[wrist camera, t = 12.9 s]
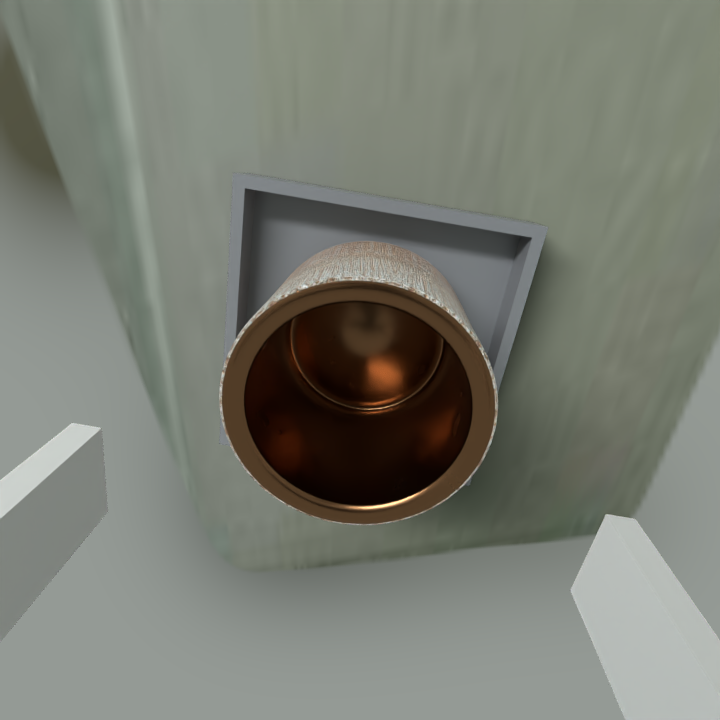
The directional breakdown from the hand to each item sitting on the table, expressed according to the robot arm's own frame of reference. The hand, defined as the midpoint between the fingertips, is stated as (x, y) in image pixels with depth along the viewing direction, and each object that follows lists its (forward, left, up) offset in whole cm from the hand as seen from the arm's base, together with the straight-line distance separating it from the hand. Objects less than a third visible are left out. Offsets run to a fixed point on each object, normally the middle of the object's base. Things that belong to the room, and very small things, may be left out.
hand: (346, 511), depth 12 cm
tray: (0, 0, -16) cm, 16 cm away
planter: (0, 0, -16) cm, 16 cm away
